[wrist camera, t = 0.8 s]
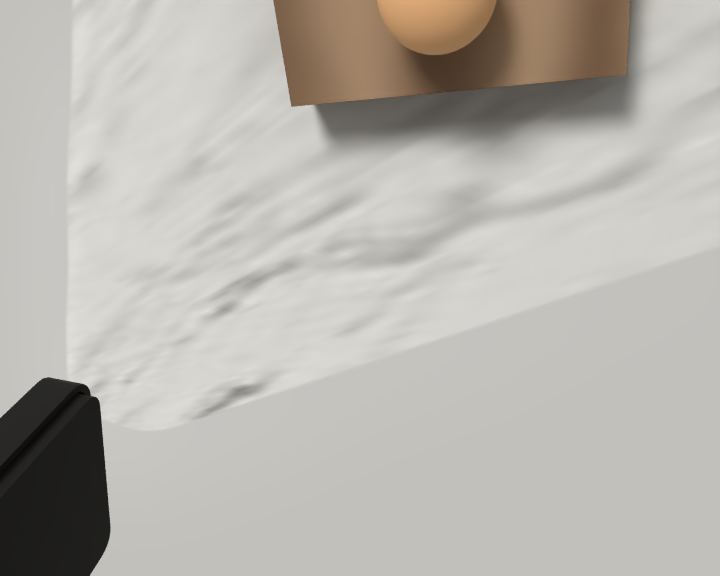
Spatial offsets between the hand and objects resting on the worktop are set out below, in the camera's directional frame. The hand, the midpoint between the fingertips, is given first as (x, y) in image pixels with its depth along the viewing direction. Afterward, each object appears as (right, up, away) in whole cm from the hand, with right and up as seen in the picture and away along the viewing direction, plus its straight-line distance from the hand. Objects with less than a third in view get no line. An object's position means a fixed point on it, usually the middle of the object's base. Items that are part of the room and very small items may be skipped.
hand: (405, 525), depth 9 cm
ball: (+2, +14, +15) cm, 21 cm away
